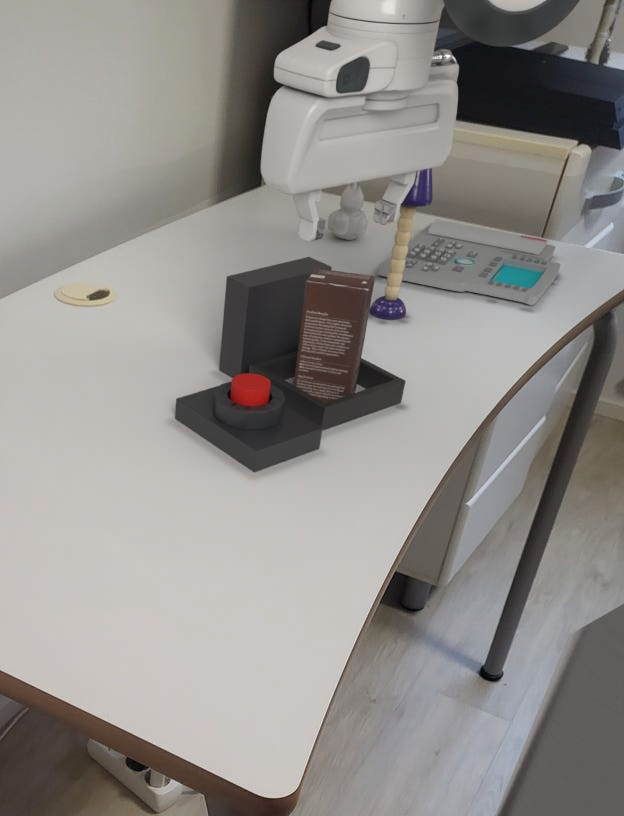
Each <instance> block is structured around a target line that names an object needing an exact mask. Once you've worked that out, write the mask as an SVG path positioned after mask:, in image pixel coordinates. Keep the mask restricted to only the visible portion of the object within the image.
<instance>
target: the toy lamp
mask: <svg viewBox="0 0 624 816" xmlns="http://www.w3.org/2000/svg"><path fill="white" fill-rule="evenodd" d="M433 193H434V192H433V168H430V169H425V170H420V171H416V176H415V181H414V184H413V186H412V187H411V189H410V191H409V192H408V194H407V196H406V197H405V199H404V201H403V202H402V204H401V205H400V210H399V214H400V216H398V219H397V222H396V227H397V230H396V232H395V234H394V244H393V246H392V249H391V257H393V258H392V259H391V261H390V265H389V269H390V272H389V274H388V276H387V277H386V286H385V288H384V295H382V296H379V297H378V298H376V299H375V300H374V301H373V303H372V304H371V305H370V309H369V314H371V315H372V316H374V317H377V318H379V319H384V320H398V319H402V318H405V316H406V315H407V308H406V305H405V302H404V301H403V300H402V299H401V298H400V297H399V296H400V293H401V287H400V286H401V284H402V282H403V280H402V278H403V275H402V272H403V270H404V268H405V257H406V255H407V252H408V246H407V244H408V243H409V242H410V241H411V235H412V233H411V231H412V229H413V227H414V216H415V215H416V212H417V208H419V207H420V208H422V207H427V206H430V205H431V204H432V202H433V197H434V196H433V195H434V194H433Z"/></svg>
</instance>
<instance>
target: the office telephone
mask: <svg viewBox="0 0 624 816" xmlns="http://www.w3.org/2000/svg"><path fill="white" fill-rule="evenodd" d="M548 241H549V240H548V239H544V238H539V237H538V238H537V237H533V236H528V235H522V234H516V233H512V232H511V233H510V232H505V231H500V230H494V229H488V228H485V227H479V226H473V225H467V224H462V223H457V222H451V221H445V220H442V219H435V220H434V221H433V222H431V223H430V224H429V225H427V226H426V227H425V228H424V229H423V230H421V231H420V232H419V233H418V234H417V235H415V236H414V237H413V238H412V239H410V241H409V243H408V244H407V246H408V252H407V255H406V257H405V268H404V270H403V272H402V275H403V278H402V281H404V282H409V283H414V284H419V285H424V286H428V287H434V288H438V289H443V290H447V291H454V292H461V293H462V292H463V293H464V292H469V293H476V294H480V295H486V296H491V297H494V298H495V297H496V298H500V299H505V300H510V301H514V302H518V303H522V304H525V305H530V306H534V305H536V304H537V302H539V300H540V299H541V298H542V297H543V295H544V294H545V293H546V291H547V290H548V289H549V288H550V286H552V283H553V282H554V281H555V279H556V278H557V276H558V274H559V272H560V268H561V263H559V262H553V261H551V259H552V258H553V257H554V254H555V251H556V246H555V245H551V244H548ZM392 258H393V257H392V256H390V257H388V258H387V259H386V260H384V261H383V262H382V263H381V264H380V265H378V267H377V273H376V274H377V276H381V277H385V278H387V276H388V274H389V272H390V269H389V265H390V261H391V259H392Z"/></svg>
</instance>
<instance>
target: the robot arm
mask: <svg viewBox="0 0 624 816" xmlns="http://www.w3.org/2000/svg"><path fill="white" fill-rule="evenodd" d="M580 1H581V0H331V1H330V5H329V9H328V17H327V25H324V26H322V27H320V28H318V29H317V30H316V31H314V32H313V33H311V34H310V35H308V36H307V37H305V38H304V39H302V40H300V41H298V42H297V43H295V44H293V45H291V46H289V47H288V48H286V49H284V50H282V51H281V52H280V53H279V54H277V56H276V58H275V60H274V65H273V78H274V80H275V81H276V83H279V84H281V85H283V86H281V87H279V89H277V90H276V92H275V93H274V95H273V96H272V98H271V100H270V102H269V106H268V109H267V113H266V120H265V125H264V130H263V131H264V132H263V139H262V145H261V156H260V157H261V158H260V174H261V176H262V179H263V181H264V183H265V185H266V186H267V187H268V188H270V189H272V190H274V191H276V192H280V193H283V194H285V195H289V196H292V201H293V203H294V206H295V208H296V212H297V214H298V217H299V222H298V223H299V224H298V230H297V234H298V238H299V239H301V240H303V241H305V242H307V243H309V242H313V241H319V240H321V239H323V238H324V234H325V231H324V230H325V228H326V222H327V219H325V218H323V217H319V213H318V208H317V204H316V203H319V202H321V200H322V194H323V190H325V189H329V188H335V187H341V186H345V185H349V184H350V185H351V184H354V183H357V184H358V183H362V182H366V181H371V180H378V179H382V178H387V179H388V180H390V181H389V182H388V185H387V188H386V189H385V191H384V193H383V196H382V198H381V199H378V200H376V201H375V205H374V212H373V214H372V215H373V216H372V218H373V221H374V222H375V223H376V224H380V225H383V226H385V225H386V226H387V225H390V224H395V223H397V222H398V219H399V214H400V207H401V204H402V202H403V201H404V199H405V197H406V196H407V194H408V192H409V191H410V189H411V187H412V186H413V184H414V181H415V176H416V171H420V170H425V169H430V168H432V169H435V168H439V167H441V166H443V165H444V163H445V162H446V160H447V158H448V157H449V155H450V153H451V151H452V147H453V141H454V135H455V129H456V121H457V114H458V103H459V86H458V77H459V73H460V65H459V64H458V61H457V59H456V57H455V56H454V55H453V53H452V51H451V50H450V49H446V48H442V49H438V50H436V51H435V47H436V43H437V37H438V32H439V26H440V21H441V17H442V12H443V9H444V8H445V10H446V12H447V14H448V15H449V17H450V19H451V21H452V22H453V23H454V25H455V26H456V27H457V28H458V29H459V30H460V31H461V32H462V33H463V34H464V35H466V36H467V37H468V38H470V39H472V40H473V41H476V42H478V43H481V44H483V45H487V46H493V47H501V48H502V47H505V48H506V47H514V46H520V45H523V44H527V43H530V42H531V41H535V40H537V39H539V38H540V37H543V36H545V35H546V34H548V33H550V31H552V30H554V29H555V28H556V27H557V26H558V25H560V24H561V23H562V22H563V21H564V20H565V19H566V18H567V17H568V16H569V15H570V14H571V13H572V12H573V10H575V8H576V7H577V5H578V4H579V2H580Z"/></svg>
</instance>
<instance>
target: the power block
mask: <svg viewBox="0 0 624 816" xmlns="http://www.w3.org/2000/svg"><path fill="white" fill-rule="evenodd" d="M231 383H232V380H231V381H228V382H224V383H221V384H220V385H216V386H212V387H209V388H206V389H204V390H200V391H197V392H194V393H189V394H187V395H184V396H181V397H180V396H179V397H176V399H175V413H174V414H175V415H174V419H175V420H176V421H177V422H179V423H180V424H182V425H183V426H184V427H186V428H188V429H189V430H191V431H192V432H193V433H195V434H197V435H198V436H199V437H201V438H203V439H204V440H206V442H208V443H210V444H211V445H212V446H214V447H215V448H217V449H218V450H220V451H221V452H223V453H225V454H226V455H227V456H229V457H230V458H232V459H233V460H235V461H236V462H238V463H240V465H242V466H244V467H245V468H247V469H248V470H250V471H251V472H252V473H257V472H259V471H263V470H266V469H268V468H271V467H274V466H277V465H279V464H281V463H284V462H287V461H290V460H293V459H296V458H298V457H301V456H305V455H306V454H310V453H313V452H314V451H318V450H320V447H321V440H322V434H323V431H322V428H321V427H319V426H318V425H316V424H314V423H313V422H311V421H309V420H308V419H306V418H304V417H303V416H301V415H299V414H298V413H296V412H294V411H293V410H291V409H289V408H288V407H286V406H285V402H286V399H285V396H284V394H283V392H282V390H280V389H278V388H276V387H275V386H273V385H271V387H270V395H269V402H268V403H267V404H264V405H261V406H246V405H242V404H237V403H235V402H233V401H232V400H231V399H230V394H231Z"/></svg>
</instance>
